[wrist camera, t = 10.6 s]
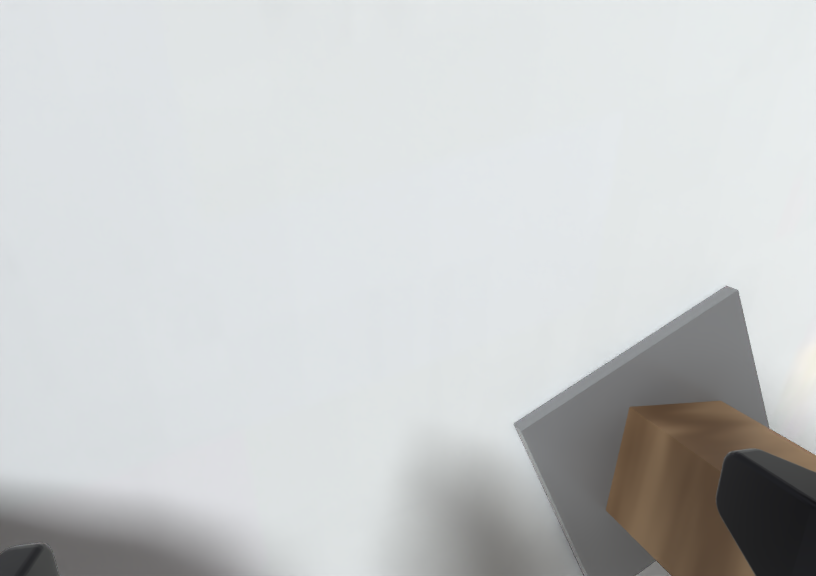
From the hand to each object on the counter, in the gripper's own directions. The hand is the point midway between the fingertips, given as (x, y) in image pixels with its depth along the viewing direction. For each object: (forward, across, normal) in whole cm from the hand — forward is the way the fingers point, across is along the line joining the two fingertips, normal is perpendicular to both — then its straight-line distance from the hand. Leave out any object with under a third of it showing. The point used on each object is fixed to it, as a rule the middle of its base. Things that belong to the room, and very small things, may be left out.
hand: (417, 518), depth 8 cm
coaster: (+14, -14, +11) cm, 23 cm away
